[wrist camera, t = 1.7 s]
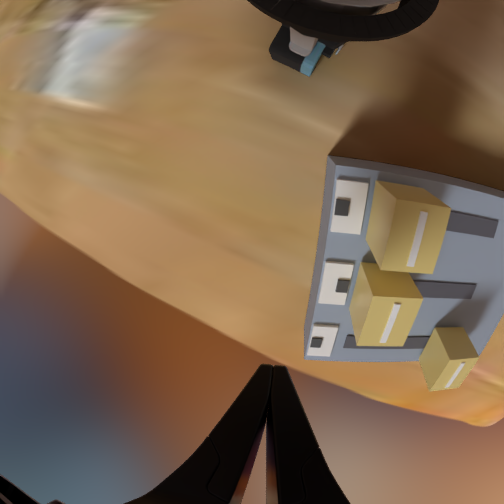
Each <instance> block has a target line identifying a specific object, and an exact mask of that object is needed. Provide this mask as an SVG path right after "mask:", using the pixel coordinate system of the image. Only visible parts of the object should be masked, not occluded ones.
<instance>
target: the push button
mask: <svg viewBox="0 0 504 504" xmlns="http://www.w3.org/2000/svg"><path fill="white" fill-rule="evenodd" d="M248 1H249V2H250V3H251V4H252V5H253V6H255V7H256V8H258V9H259V10H260V11H262V12H263V13H265V14H267V15H268V16H270V17H271V18H273V19H275V20H277V21H279V22H281V23H282V26H281V28H280V30H279V31H278V33H277V35H276V36H275V38H274V40H273V42H272V43H271V45H270V48H269V52H270V54H271V57H272V59H273V60H275V61H278V62H280V63H282V64H284V65H287V66H289V67H291V68H293V69H295V70H297V71H299V72H301V73H303V74H305V75H307V76H309V77H310V75H311V74H312V72H313V70H314V68H315V65H316V63H317V62H318V60H319V58H320V56H321V55H324V56H326V57H328V58H330V57H331V55H332V54H333V52H334V50H335V49H336V48H338V50H337V52H336V55H337V54H338V52H339V51H340V50H341V48H342V46H343V45H344V43H345V42H348V41H379V40H384V39H390V38H394V37H397V36H400V35H403V34H405V33H408V32H409V31H411V30H413V29H415V28H416V27H418V26H420V25H421V24H422V23H424V22H425V21H426V20H427V19H428V18H429V17H430V16H431V15H432V14H433V12H434V11H435V9H436V7H437V5H438V2H439V0H401V1H400V0H248ZM398 1H400V4H399V7H398V9H396V10H394V11H391V12H388V13H384V14H378V15H376V14H377V13H378V12H379V11H381V10H382V9H383V8H384V7H385V6H386V5H387V4H392V3H395V2H398Z"/></svg>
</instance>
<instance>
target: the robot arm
mask: <svg viewBox="0 0 504 504" xmlns="http://www.w3.org/2000/svg"><path fill="white" fill-rule="evenodd" d="M267 412H268V413H267ZM266 419H267V422H266ZM265 424H266V504H350V502H349V501H348V499H347V498H346V496H345V495H344V493H343V491H342V490H341V488H340V486H339V485H338V484H337V482H336V480H335V478H334V476H333V475H332V473H331V471H330V470H329V467H328V465H327V463H326V461H325V459H324V456H323V454H322V452H321V449H320V448H319V445H318V442H317V440H316V438H315V435H314V433H313V430H312V428H311V425H310V423H309V421H308V418H307V416H306V413H305V411H304V408H303V406H302V404H301V401H300V399H299V396H298V394H297V391H296V389H295V387H294V384H293V382H292V379H291V377H290V374H289V372H288V369H287V367H286V366H281V365H275V366H274V367H273V365H270V364H261V365H260V366H259V367H258V369H257V370H256V372H255V373H254V375H253V376H252V377H251V379H250V380H249V382H248V383H247V385H246V386H245V387H244V389H243V390H242V391H241V393H240V394H239V396H238V397H237V398H236V400H235V401H234V402H233V404H232V405H231V406H230V408H229V409H228V410H227V412H226V413H225V414H224V416H223V417H222V418H221V420H220V421H219V422H218V424H217V425H216V426H215V427H214V429H213V430H212V431H211V433H210V434H209V437H206V439H205V440H204V441H203V443H202V444H201V445H200V446H199V447H198V448H197V450H196V451H195V452H194V453H193V454H192V455H191V456H190V457H189V458H188V459H187V460H186V461H185V462H184V463H183V464H182V465H181V466H180V467H179V468H178V469H176V470H175V471H174V472H173V473H172V474H171V475H170V476H169V477H167V478H166V479H165V480H164V481H163V482H161V483H160V484H159V485H158V486H157V487H155V488H154V489H153V490H151V491H150V492H148V493H147V494H145V495H143V496H141V497H139V498H137V499H134V500H132V501H129V502H127V503H124V504H241V502H242V499H243V496H244V492H245V490H246V487H247V484H248V481H249V477H250V474H251V471H252V468H253V465H254V462H255V459H256V455H257V452H258V449H259V445H260V442H261V439H262V435H263V432H264V428H265ZM0 504H40V503H39V502H37V501H36V500H35V499H33V498H32V497H30V496H29V495H28V494H26V493H25V492H24V491H23V490H21V489H20V488H19V487H17V486H16V485H14V484H13V483H12V482H10V481H9V480H8V479H6V478H5V477H4V476H2V475H1V474H0ZM47 504H65V503H63V502H61V501H59V500H53V501H51V502H49V503H47Z"/></svg>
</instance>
